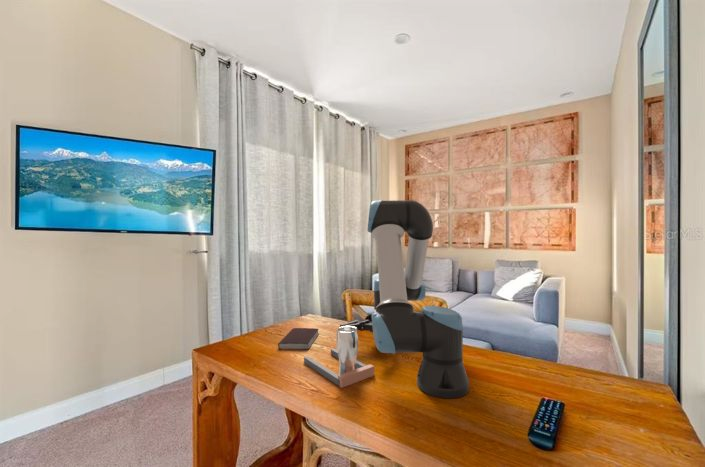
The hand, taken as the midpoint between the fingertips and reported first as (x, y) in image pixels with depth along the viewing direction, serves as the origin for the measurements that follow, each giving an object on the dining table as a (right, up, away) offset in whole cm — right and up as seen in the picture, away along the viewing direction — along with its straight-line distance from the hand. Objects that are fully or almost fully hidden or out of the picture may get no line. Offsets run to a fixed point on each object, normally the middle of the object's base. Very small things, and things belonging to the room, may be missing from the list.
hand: (357, 337), depth 113 cm
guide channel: (-6, -10, -4) cm, 12 cm away
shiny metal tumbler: (-3, -10, -8) cm, 13 cm away
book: (-24, -10, +24) cm, 35 cm away
